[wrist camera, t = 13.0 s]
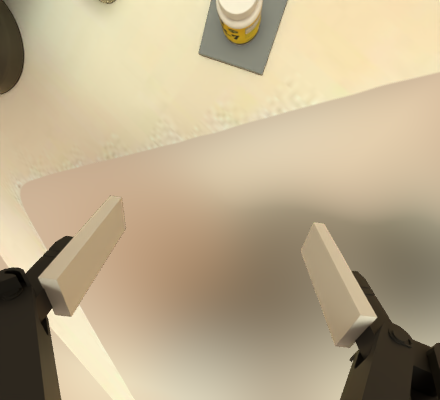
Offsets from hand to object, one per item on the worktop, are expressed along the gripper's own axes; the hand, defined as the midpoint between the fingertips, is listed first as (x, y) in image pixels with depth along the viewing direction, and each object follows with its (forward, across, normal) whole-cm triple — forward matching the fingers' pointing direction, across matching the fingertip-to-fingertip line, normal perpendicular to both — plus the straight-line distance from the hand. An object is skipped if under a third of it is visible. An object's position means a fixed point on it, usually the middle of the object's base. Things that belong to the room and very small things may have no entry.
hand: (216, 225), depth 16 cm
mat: (+24, 0, +14) cm, 28 cm away
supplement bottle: (+24, 0, +14) cm, 27 cm away
